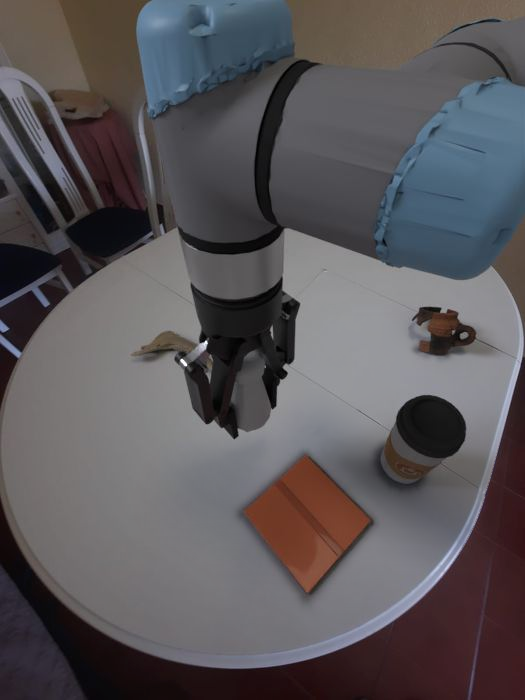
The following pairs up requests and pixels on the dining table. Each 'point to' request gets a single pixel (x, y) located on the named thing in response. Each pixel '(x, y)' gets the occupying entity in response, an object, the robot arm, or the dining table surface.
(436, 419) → the coffee cup
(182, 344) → the curved driftwood piece
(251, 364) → the salt shaker
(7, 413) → the dining table surface
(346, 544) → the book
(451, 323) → the pottery mug
